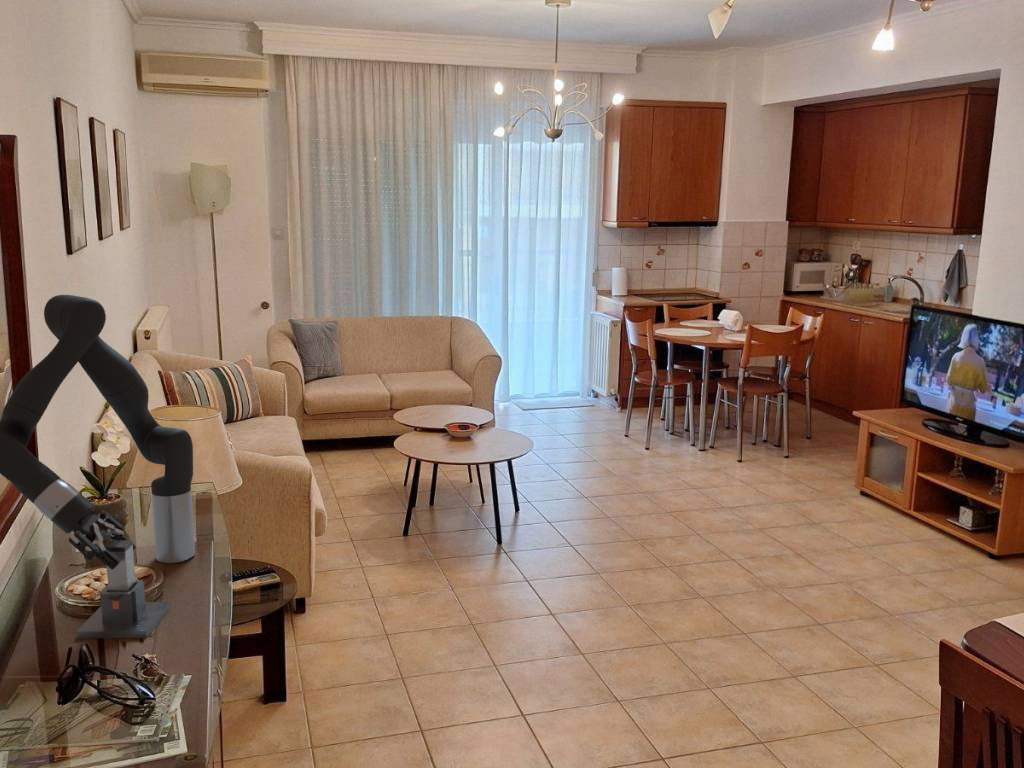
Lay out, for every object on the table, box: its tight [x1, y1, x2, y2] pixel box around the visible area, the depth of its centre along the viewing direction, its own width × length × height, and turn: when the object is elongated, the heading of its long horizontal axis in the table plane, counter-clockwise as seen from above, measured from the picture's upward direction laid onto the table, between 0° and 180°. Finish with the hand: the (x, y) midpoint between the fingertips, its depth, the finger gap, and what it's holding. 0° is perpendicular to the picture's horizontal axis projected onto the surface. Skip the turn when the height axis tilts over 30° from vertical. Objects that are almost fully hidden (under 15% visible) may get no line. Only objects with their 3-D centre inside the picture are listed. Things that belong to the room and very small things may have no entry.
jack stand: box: [75, 579, 171, 640], centre depth 190 cm, size 14×14×8 cm
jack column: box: [104, 539, 136, 592], centre depth 189 cm, size 4×4×16 cm
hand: (125, 558), depth 188 cm, fingers open, 8 cm apart
